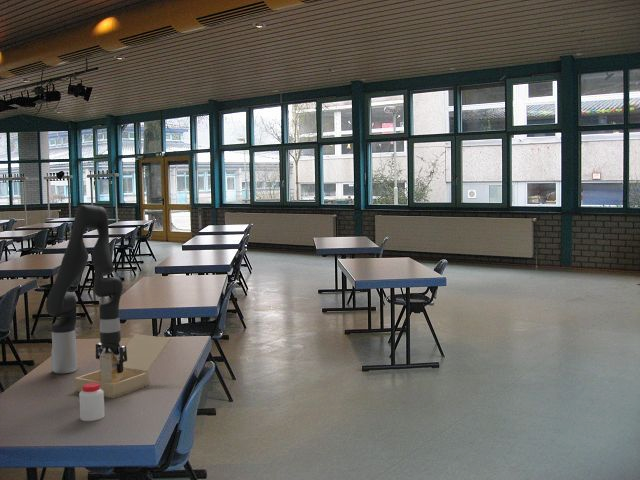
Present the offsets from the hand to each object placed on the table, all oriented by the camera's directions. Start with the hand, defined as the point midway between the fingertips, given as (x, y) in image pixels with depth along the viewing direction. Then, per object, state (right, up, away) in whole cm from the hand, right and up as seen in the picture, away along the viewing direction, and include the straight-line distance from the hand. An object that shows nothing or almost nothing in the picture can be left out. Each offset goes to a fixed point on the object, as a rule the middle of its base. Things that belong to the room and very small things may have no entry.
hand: (111, 371), depth 256 cm
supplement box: (0, -6, 0) cm, 6 cm away
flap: (+8, +5, +13) cm, 16 cm away
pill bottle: (+4, -9, -32) cm, 34 cm away
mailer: (0, -6, 0) cm, 6 cm away
